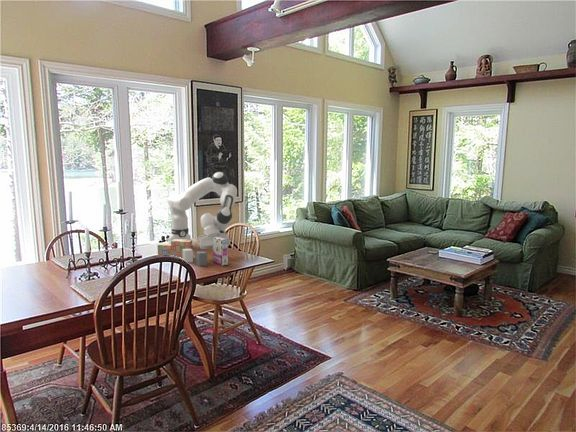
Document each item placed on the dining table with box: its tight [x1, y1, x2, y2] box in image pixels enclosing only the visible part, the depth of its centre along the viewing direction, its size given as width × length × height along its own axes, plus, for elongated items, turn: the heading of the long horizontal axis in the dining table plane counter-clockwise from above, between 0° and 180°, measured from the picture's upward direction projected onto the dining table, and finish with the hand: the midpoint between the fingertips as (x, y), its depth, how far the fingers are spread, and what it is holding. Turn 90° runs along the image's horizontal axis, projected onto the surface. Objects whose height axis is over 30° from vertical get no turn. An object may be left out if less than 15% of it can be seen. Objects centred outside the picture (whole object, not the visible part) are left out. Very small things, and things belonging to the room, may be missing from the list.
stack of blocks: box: [156, 239, 193, 258], centre depth 267 cm, size 21×6×12 cm, turn 85°
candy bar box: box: [212, 237, 229, 267], centre depth 255 cm, size 11×5×16 cm, turn 38°
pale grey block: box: [182, 248, 194, 264], centre depth 259 cm, size 5×5×8 cm
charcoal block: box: [195, 250, 208, 267], centre depth 252 cm, size 5×5×8 cm
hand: (218, 252), depth 261 cm, fingers closed
